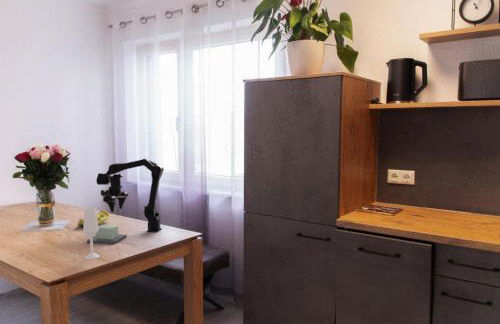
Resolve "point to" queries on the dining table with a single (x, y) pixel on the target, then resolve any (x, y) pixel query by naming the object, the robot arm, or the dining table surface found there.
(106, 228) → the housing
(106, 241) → the base plate
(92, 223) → the champagne flute
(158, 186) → the robot arm
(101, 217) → the yellow banana
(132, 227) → the dining table surface
